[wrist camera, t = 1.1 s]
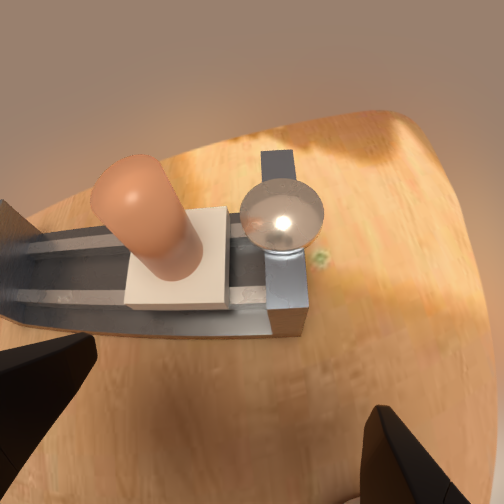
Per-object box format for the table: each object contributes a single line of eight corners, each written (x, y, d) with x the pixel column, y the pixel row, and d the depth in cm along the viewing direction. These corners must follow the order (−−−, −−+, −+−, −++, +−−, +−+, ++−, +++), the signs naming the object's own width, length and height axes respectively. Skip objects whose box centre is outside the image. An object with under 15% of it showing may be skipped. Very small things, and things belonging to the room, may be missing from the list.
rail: (305, 218, 26) (311, 142, 18) (316, 335, 22) (335, 301, 13) (33, 242, 29) (-17, 201, 20) (15, 325, 24) (-47, 297, 16)
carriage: (230, 217, 23) (201, 124, 15) (228, 309, 20) (186, 247, 12) (145, 225, 24) (88, 147, 15) (133, 309, 20) (52, 256, 12)
